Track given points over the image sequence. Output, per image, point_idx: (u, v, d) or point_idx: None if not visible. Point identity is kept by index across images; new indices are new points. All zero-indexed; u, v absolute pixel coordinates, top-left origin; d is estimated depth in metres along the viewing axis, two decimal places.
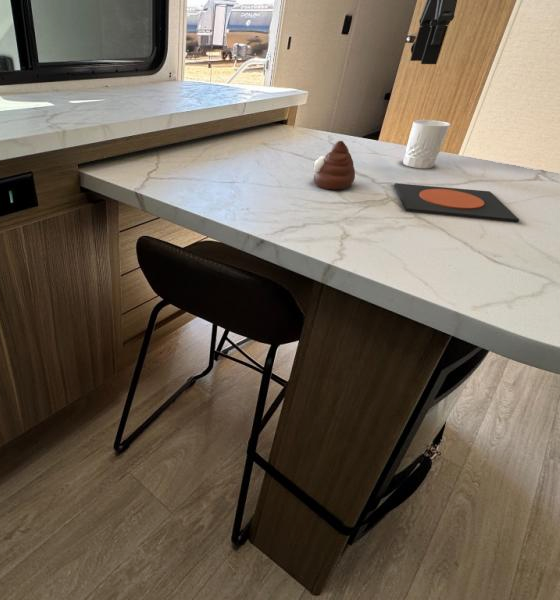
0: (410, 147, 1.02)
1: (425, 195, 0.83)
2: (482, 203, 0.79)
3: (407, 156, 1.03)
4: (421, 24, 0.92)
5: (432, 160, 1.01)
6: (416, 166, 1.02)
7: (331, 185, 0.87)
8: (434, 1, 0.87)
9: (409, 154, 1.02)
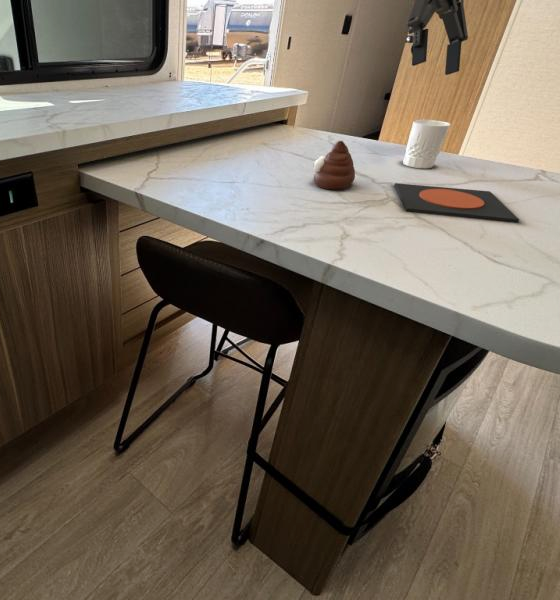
0: (410, 147, 1.02)
1: (425, 195, 0.83)
2: (482, 203, 0.79)
3: (407, 156, 1.03)
4: (450, 43, 0.98)
5: (432, 160, 1.01)
6: (416, 166, 1.02)
7: (331, 185, 0.87)
8: (447, 20, 0.95)
9: (409, 154, 1.02)
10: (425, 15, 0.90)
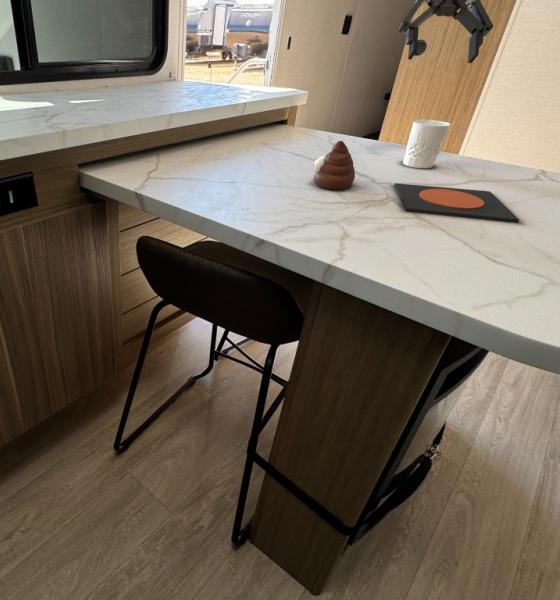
0: (410, 147, 1.02)
1: (425, 195, 0.83)
2: (482, 203, 0.79)
3: (407, 156, 1.03)
4: None
5: (432, 160, 1.01)
6: (416, 166, 1.02)
7: (331, 185, 0.87)
8: (461, 18, 1.00)
9: (409, 154, 1.02)
10: None
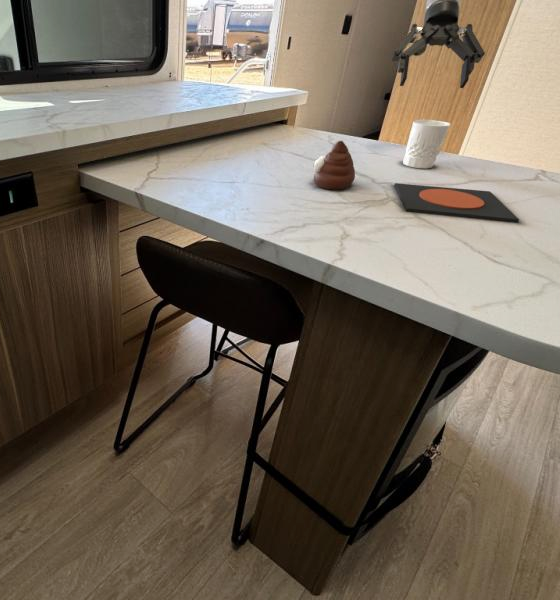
0: (410, 147, 1.02)
1: (425, 195, 0.83)
2: (482, 203, 0.79)
3: (407, 156, 1.03)
4: None
5: (432, 160, 1.01)
6: (416, 166, 1.02)
7: (331, 185, 0.87)
8: (453, 47, 1.05)
9: (409, 154, 1.02)
10: None
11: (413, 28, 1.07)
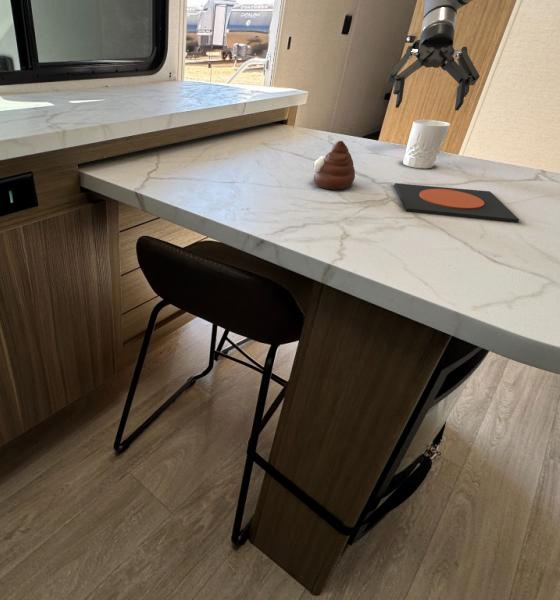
0: (410, 147, 1.02)
1: (425, 195, 0.83)
2: (482, 203, 0.79)
3: (407, 156, 1.03)
4: None
5: (432, 160, 1.01)
6: (416, 166, 1.02)
7: (331, 185, 0.87)
8: (448, 69, 1.05)
9: (409, 154, 1.02)
10: None
11: (408, 50, 1.07)
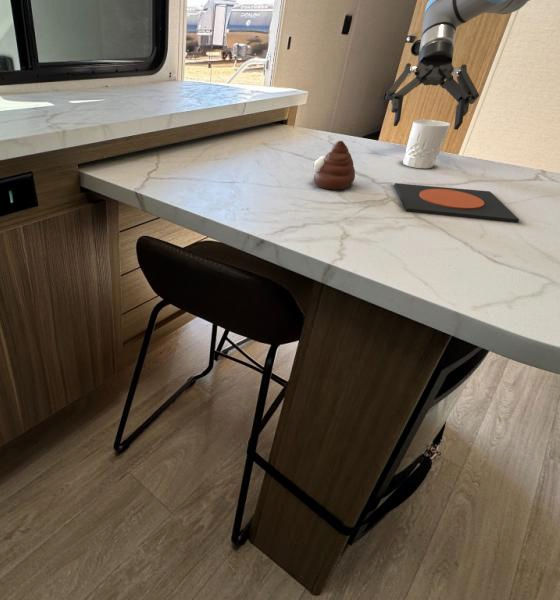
0: (410, 147, 1.02)
1: (425, 195, 0.83)
2: (482, 203, 0.79)
3: (407, 156, 1.03)
4: None
5: (432, 160, 1.01)
6: (416, 166, 1.02)
7: (331, 185, 0.87)
8: (447, 87, 1.04)
9: (409, 154, 1.02)
10: None
11: (407, 68, 1.06)
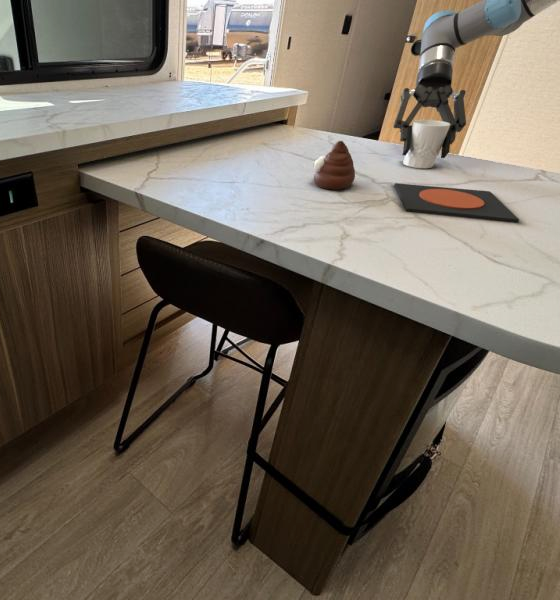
0: (410, 147, 1.02)
1: (425, 195, 0.83)
2: (482, 203, 0.79)
3: (407, 156, 1.03)
4: None
5: (432, 160, 1.01)
6: (416, 166, 1.02)
7: (331, 185, 0.87)
8: (441, 111, 1.02)
9: (409, 154, 1.02)
10: None
11: (406, 93, 1.03)
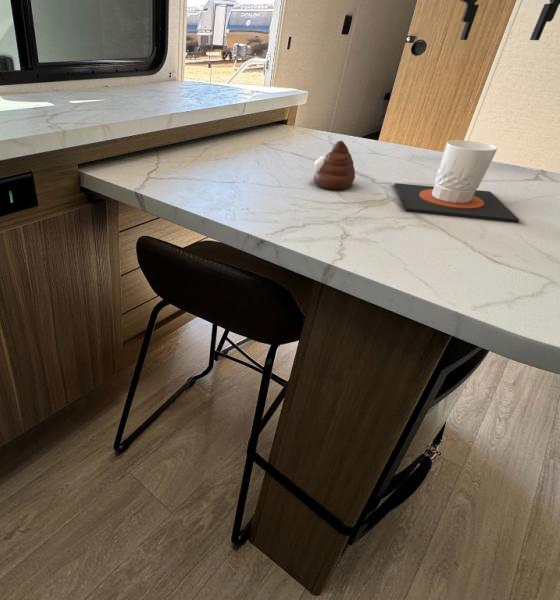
0: (442, 176, 0.79)
1: (425, 195, 0.83)
2: (482, 203, 0.79)
3: (438, 187, 0.80)
4: None
5: (471, 193, 0.78)
6: (450, 200, 0.79)
7: (331, 185, 0.87)
8: None
9: (441, 185, 0.79)
10: None
11: None
